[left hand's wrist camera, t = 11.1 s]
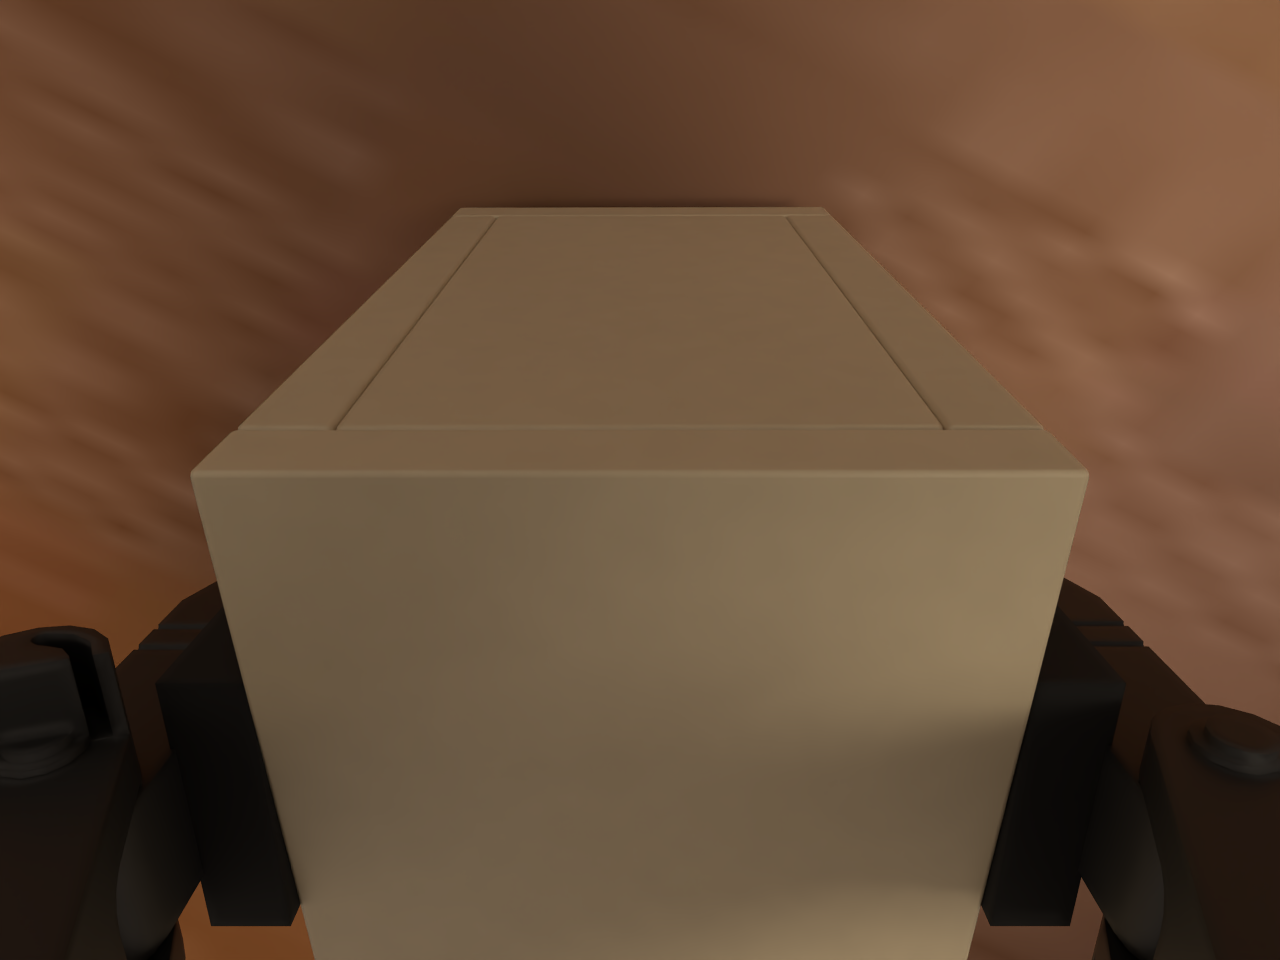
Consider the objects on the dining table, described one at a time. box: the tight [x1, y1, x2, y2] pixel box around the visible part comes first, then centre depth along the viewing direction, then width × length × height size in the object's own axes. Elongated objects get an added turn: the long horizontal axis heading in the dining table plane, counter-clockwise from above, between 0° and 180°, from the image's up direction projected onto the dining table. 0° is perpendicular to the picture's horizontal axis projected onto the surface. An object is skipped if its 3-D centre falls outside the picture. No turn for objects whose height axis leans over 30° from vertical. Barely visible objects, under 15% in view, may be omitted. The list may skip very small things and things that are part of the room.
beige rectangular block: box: [190, 207, 1089, 960], centre depth 15 cm, size 17×7×11 cm, turn 0°
